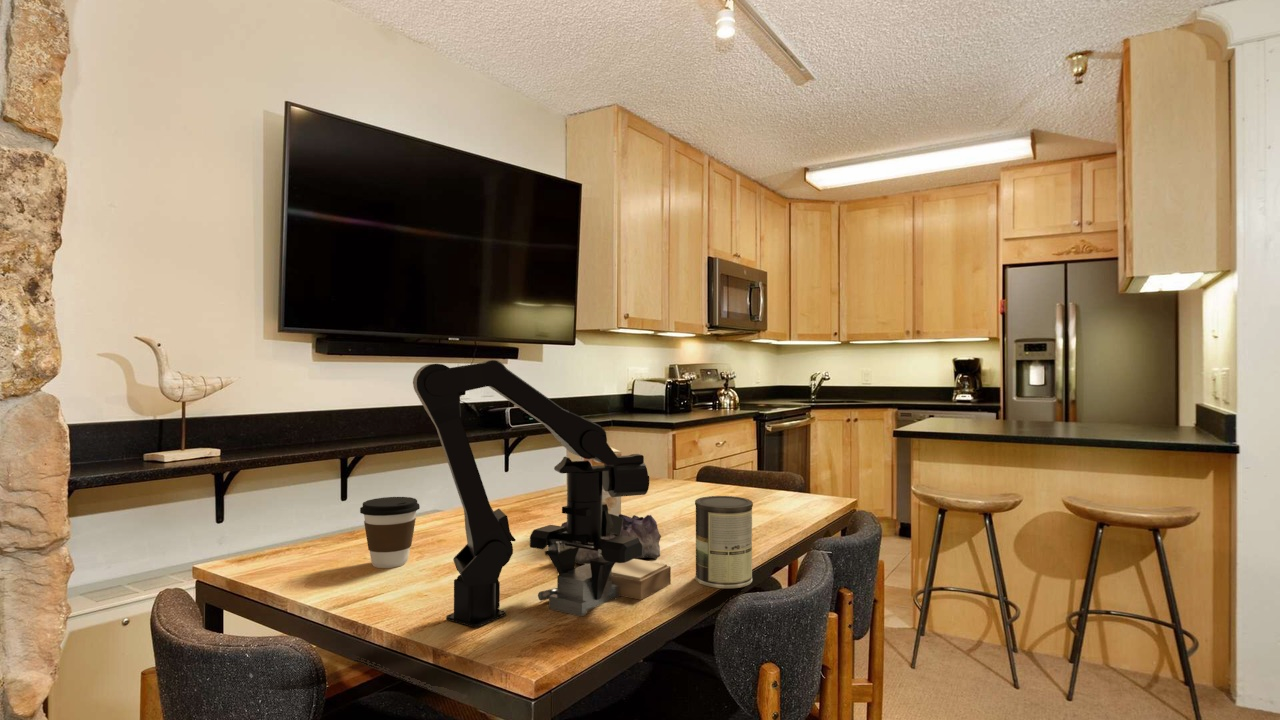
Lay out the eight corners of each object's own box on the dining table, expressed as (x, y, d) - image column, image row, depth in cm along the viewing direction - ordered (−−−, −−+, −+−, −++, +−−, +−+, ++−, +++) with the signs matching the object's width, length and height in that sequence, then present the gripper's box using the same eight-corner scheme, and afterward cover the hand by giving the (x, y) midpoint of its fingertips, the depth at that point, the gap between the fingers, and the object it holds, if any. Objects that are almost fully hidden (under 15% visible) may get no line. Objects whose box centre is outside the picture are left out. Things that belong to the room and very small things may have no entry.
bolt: (539, 604, 109) (549, 602, 108) (536, 589, 110) (546, 586, 109) (565, 598, 114) (575, 595, 112) (562, 583, 114) (572, 580, 113)
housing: (581, 616, 104) (582, 583, 104) (549, 608, 108) (549, 576, 108) (619, 597, 113) (619, 566, 113) (587, 590, 116) (587, 561, 117)
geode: (648, 547, 146) (652, 501, 145) (667, 569, 135) (672, 520, 134) (554, 551, 139) (558, 503, 138) (566, 575, 128) (570, 523, 127)
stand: (640, 599, 112) (640, 578, 112) (581, 587, 118) (581, 567, 118) (670, 583, 120) (670, 564, 120) (613, 572, 127) (613, 554, 127)
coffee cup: (431, 561, 134) (431, 500, 134) (383, 575, 125) (383, 509, 125) (395, 553, 140) (396, 494, 140) (347, 565, 131) (347, 502, 131)
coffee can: (683, 580, 122) (683, 501, 122) (715, 567, 130) (715, 493, 130) (733, 593, 115) (733, 509, 116) (763, 578, 123) (763, 500, 124)
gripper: (659, 497, 112) (659, 592, 112) (569, 487, 122) (568, 574, 122) (622, 508, 103) (622, 612, 103) (527, 496, 113) (527, 591, 112)
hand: (584, 596), depth 110 cm, fingers closed on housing, 5 cm apart
